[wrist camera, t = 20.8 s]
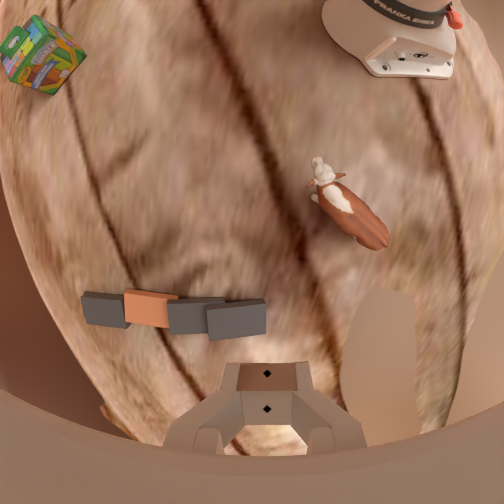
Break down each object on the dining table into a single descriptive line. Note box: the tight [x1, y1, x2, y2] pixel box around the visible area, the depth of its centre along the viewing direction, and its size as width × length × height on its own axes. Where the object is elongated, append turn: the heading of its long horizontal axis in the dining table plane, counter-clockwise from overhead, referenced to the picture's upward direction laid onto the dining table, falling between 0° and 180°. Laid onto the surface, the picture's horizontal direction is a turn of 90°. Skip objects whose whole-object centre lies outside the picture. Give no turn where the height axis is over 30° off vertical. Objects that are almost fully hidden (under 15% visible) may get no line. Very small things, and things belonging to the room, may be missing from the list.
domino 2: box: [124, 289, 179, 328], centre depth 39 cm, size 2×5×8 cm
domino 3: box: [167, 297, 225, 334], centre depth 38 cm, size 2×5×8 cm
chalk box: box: [0, 15, 87, 95], centre depth 24 cm, size 9×9×15 cm
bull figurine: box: [306, 157, 389, 251], centre depth 31 cm, size 4×13×8 cm, turn 46°
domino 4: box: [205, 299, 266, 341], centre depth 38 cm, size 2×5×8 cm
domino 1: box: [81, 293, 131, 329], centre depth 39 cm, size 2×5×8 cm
